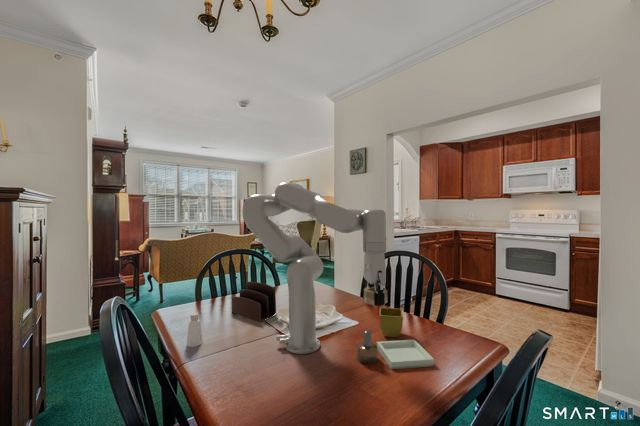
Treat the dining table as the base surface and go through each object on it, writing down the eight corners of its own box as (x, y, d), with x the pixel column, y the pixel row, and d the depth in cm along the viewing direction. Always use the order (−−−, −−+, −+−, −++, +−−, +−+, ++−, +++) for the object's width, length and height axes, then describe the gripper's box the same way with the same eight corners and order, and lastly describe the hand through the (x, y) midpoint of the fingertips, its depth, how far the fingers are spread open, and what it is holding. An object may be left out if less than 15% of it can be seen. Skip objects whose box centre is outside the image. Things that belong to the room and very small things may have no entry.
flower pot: (403, 340, 112) (403, 316, 111) (379, 338, 113) (379, 315, 113) (401, 330, 120) (401, 308, 120) (379, 329, 122) (379, 307, 122)
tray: (391, 369, 92) (391, 362, 92) (376, 347, 106) (376, 341, 106) (434, 366, 94) (434, 359, 94) (414, 345, 108) (414, 339, 108)
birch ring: (368, 305, 94) (367, 293, 94) (362, 299, 101) (362, 287, 101) (389, 304, 95) (389, 291, 95) (382, 298, 102) (382, 286, 102)
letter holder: (248, 307, 149) (247, 279, 149) (276, 316, 137) (276, 285, 137) (231, 313, 141) (231, 283, 141) (260, 322, 129) (260, 290, 129)
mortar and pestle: (360, 365, 94) (360, 336, 94) (355, 354, 101) (355, 328, 101) (380, 363, 95) (380, 335, 95) (373, 353, 102) (374, 327, 102)
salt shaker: (205, 342, 111) (205, 312, 110) (194, 348, 106) (193, 317, 105) (195, 339, 113) (194, 310, 113) (183, 345, 108) (182, 315, 108)
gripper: (357, 244, 106) (358, 294, 106) (370, 251, 88) (372, 311, 89) (377, 243, 107) (378, 293, 107) (395, 250, 89) (396, 309, 90)
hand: (375, 301), depth 98 cm, fingers closed on birch ring, 7 cm apart
